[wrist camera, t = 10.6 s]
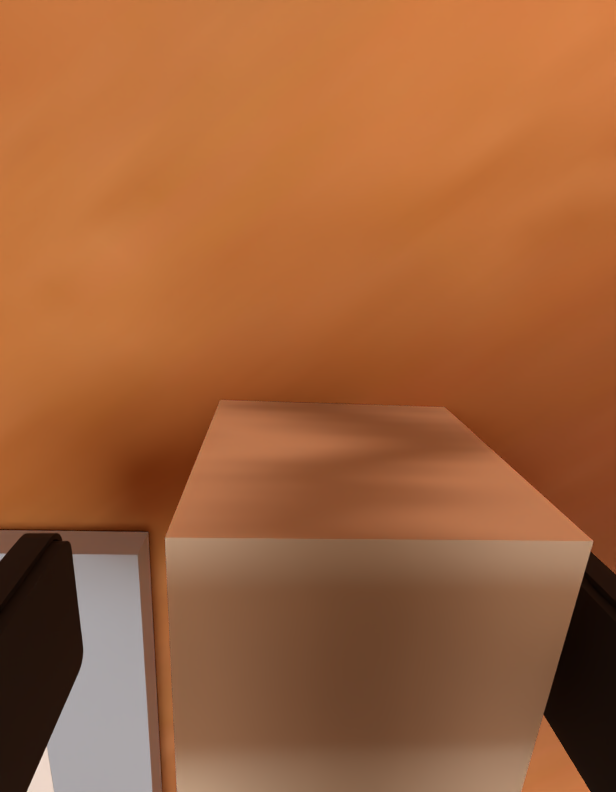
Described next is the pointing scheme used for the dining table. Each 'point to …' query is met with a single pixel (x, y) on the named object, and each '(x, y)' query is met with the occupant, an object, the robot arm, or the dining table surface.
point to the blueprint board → (107, 672)
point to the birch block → (361, 604)
